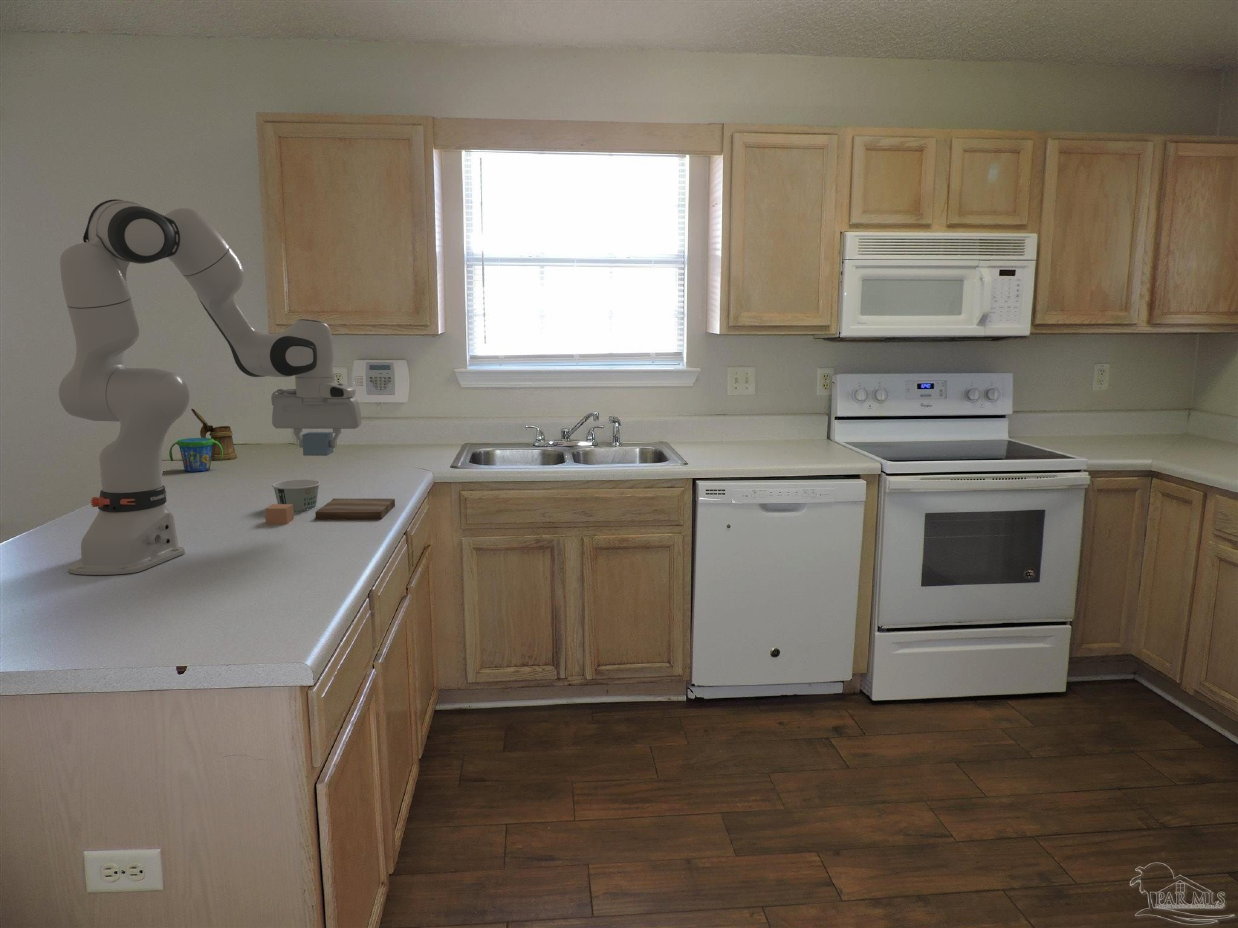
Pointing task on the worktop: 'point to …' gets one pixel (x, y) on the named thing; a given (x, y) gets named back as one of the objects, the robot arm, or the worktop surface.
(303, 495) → the food container
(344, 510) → the walnut board
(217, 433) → the wooden mug
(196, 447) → the snack cup
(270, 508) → the terracotta block
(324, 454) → the slate block
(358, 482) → the worktop surface
